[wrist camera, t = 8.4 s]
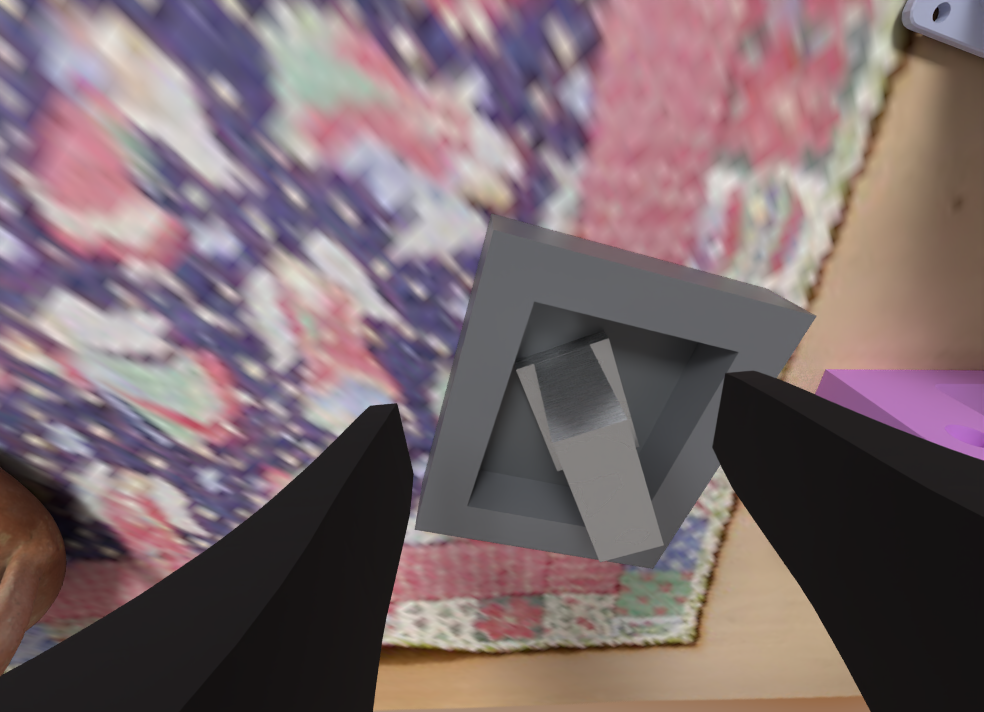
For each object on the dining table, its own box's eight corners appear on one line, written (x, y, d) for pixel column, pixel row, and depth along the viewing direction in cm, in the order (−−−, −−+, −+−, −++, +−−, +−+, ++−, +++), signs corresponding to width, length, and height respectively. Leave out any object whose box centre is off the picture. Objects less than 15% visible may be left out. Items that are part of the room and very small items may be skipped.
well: (767, 288, 18) (816, 316, 16) (634, 520, 25) (652, 568, 22) (491, 213, 17) (493, 229, 14) (422, 483, 23) (414, 529, 20)
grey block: (603, 330, 19) (653, 411, 13) (634, 435, 21) (685, 539, 16) (514, 360, 19) (528, 450, 14) (554, 460, 22) (579, 567, 16)
